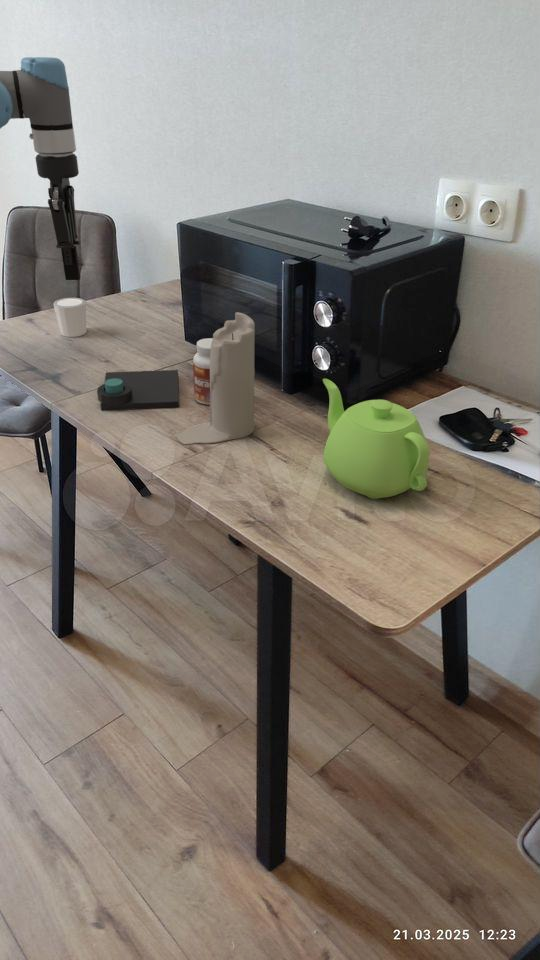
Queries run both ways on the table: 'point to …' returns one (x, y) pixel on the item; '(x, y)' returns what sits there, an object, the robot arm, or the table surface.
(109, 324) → the table surface
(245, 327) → the candle
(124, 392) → the scale
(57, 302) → the white cup
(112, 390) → the button
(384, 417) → the teapot
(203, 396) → the pill bottle
